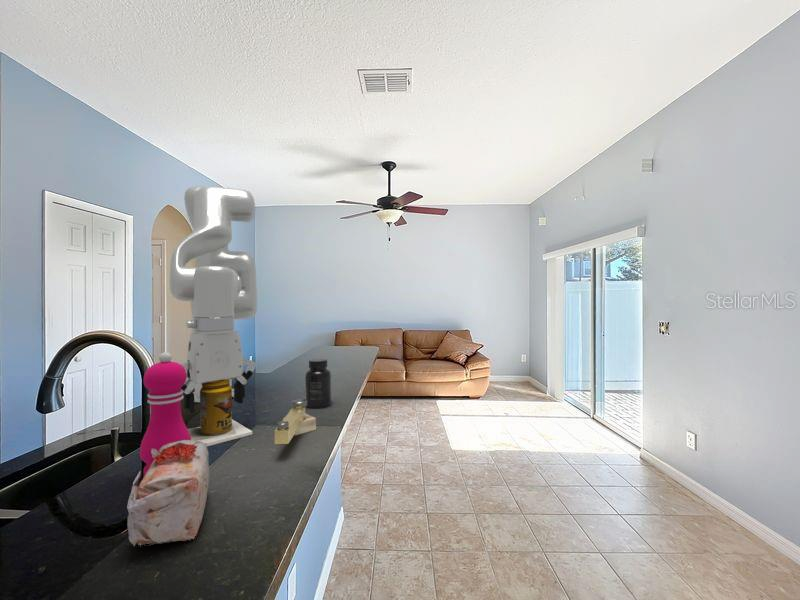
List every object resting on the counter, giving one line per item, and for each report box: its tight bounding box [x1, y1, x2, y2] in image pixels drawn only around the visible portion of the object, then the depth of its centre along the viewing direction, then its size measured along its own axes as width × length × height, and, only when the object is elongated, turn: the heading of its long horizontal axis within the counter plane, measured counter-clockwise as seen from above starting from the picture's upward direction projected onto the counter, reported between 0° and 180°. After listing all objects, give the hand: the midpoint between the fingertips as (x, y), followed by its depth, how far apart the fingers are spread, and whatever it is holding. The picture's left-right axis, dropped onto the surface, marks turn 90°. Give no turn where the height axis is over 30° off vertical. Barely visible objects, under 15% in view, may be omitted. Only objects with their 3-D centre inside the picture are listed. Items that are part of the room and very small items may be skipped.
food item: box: [126, 440, 210, 547], centre depth 49 cm, size 14×8×10 cm, turn 23°
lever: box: [274, 398, 307, 445], centre depth 76 cm, size 3×17×3 cm, turn 3°
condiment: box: [187, 379, 236, 440], centre depth 79 cm, size 7×8×12 cm
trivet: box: [195, 419, 253, 447], centre depth 80 cm, size 11×11×1 cm
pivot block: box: [293, 413, 317, 436], centre depth 82 cm, size 5×5×2 cm
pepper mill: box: [139, 351, 191, 478], centre depth 62 cm, size 7×7×20 cm
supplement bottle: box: [304, 358, 332, 409], centre depth 101 cm, size 7×7×12 cm
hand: (215, 406), depth 79 cm, fingers open, 9 cm apart
